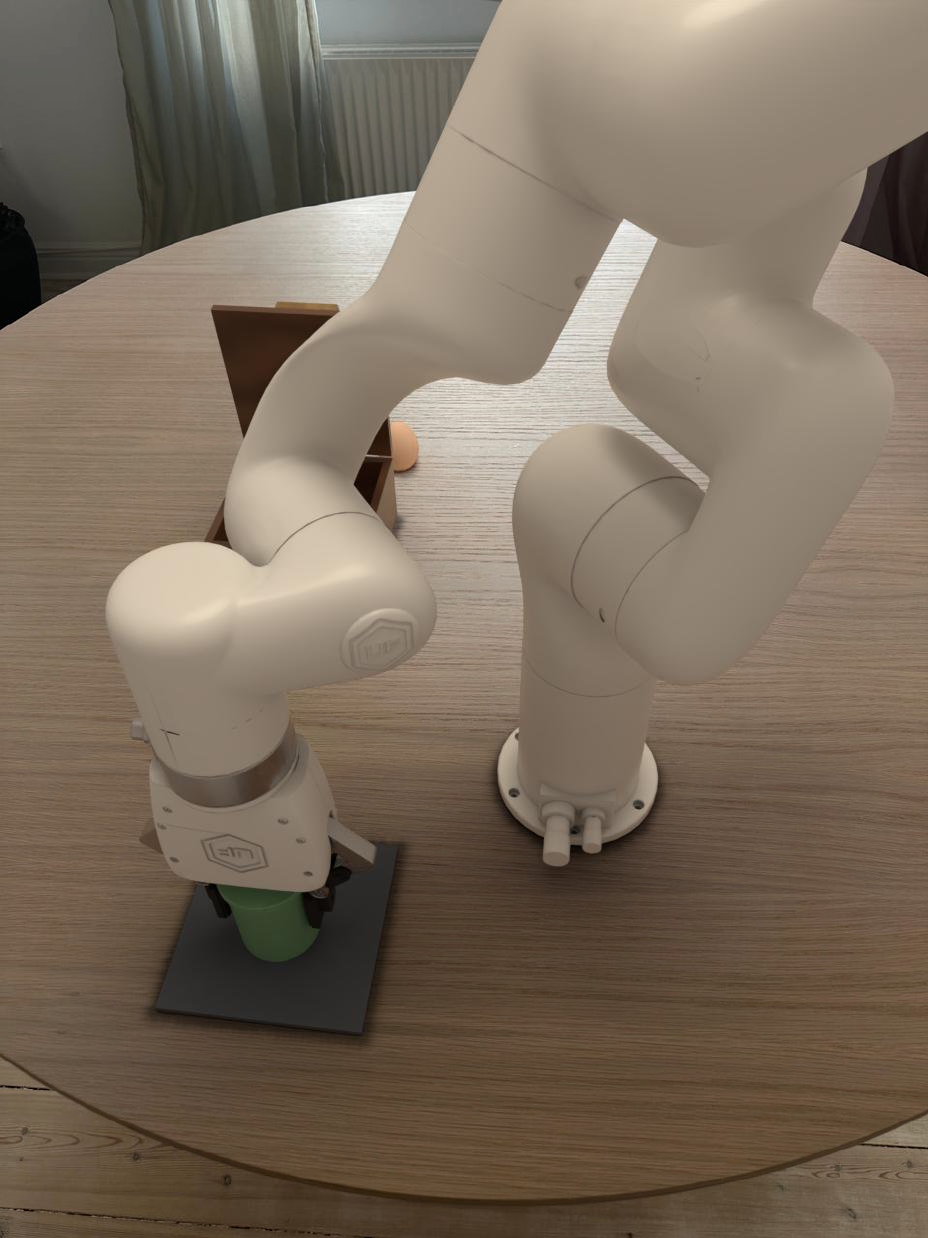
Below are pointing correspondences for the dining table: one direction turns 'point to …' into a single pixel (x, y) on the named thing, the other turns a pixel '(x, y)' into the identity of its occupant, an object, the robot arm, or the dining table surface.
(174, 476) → the dining table surface
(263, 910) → the green solid cylinder
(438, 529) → the dining table surface
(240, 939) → the mat
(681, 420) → the robot arm
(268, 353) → the lid
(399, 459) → the egg
